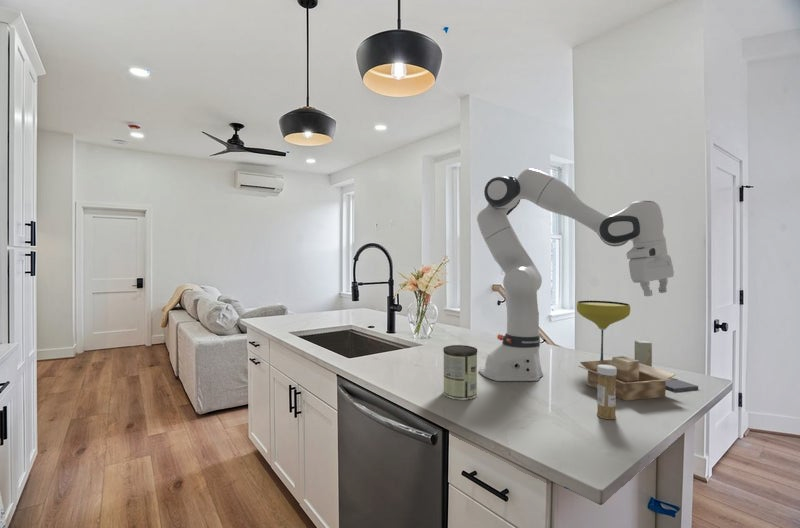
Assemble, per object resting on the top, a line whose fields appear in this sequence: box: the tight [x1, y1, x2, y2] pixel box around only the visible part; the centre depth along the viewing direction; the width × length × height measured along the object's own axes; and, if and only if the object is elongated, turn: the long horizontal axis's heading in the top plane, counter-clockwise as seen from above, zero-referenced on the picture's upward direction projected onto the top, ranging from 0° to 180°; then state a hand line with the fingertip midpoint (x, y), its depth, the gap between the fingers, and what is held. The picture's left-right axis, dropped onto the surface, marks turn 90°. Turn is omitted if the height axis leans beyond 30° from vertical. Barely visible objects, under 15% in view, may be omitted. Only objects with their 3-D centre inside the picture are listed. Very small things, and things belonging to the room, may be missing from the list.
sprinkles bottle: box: [596, 365, 617, 420], centre depth 105 cm, size 5×5×13 cm
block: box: [611, 355, 639, 383], centre depth 126 cm, size 4×6×10 cm
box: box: [634, 339, 653, 367], centre depth 147 cm, size 5×4×11 cm
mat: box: [666, 377, 699, 392], centre depth 131 cm, size 10×10×1 cm
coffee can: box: [442, 344, 478, 401], centre depth 121 cm, size 10×10×14 cm
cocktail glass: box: [576, 300, 631, 361], centre depth 150 cm, size 18×18×25 cm
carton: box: [578, 359, 678, 401], centre depth 126 cm, size 23×23×6 cm
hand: (655, 294), depth 125 cm, fingers open, 8 cm apart
